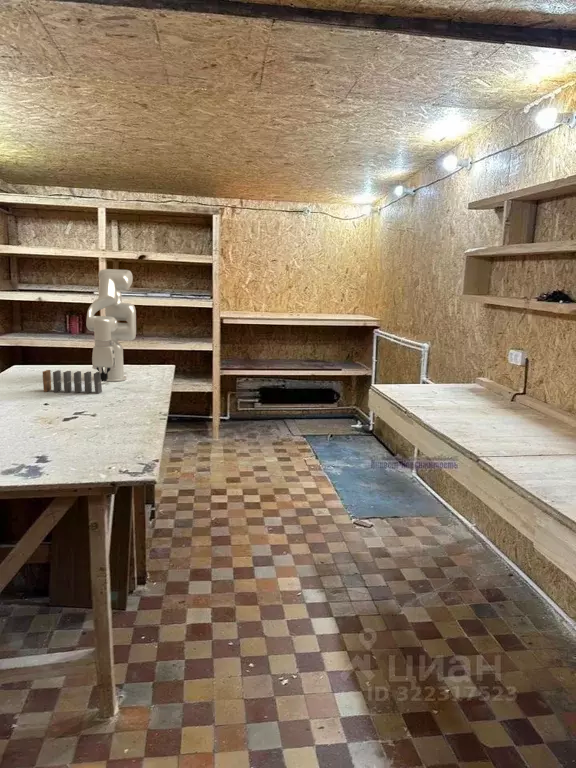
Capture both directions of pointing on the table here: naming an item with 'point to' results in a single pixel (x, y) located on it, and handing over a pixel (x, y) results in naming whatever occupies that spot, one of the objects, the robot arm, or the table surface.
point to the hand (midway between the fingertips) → (104, 380)
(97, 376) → the domino
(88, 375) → the domino
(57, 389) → the domino
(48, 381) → the domino
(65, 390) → the domino
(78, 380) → the domino
